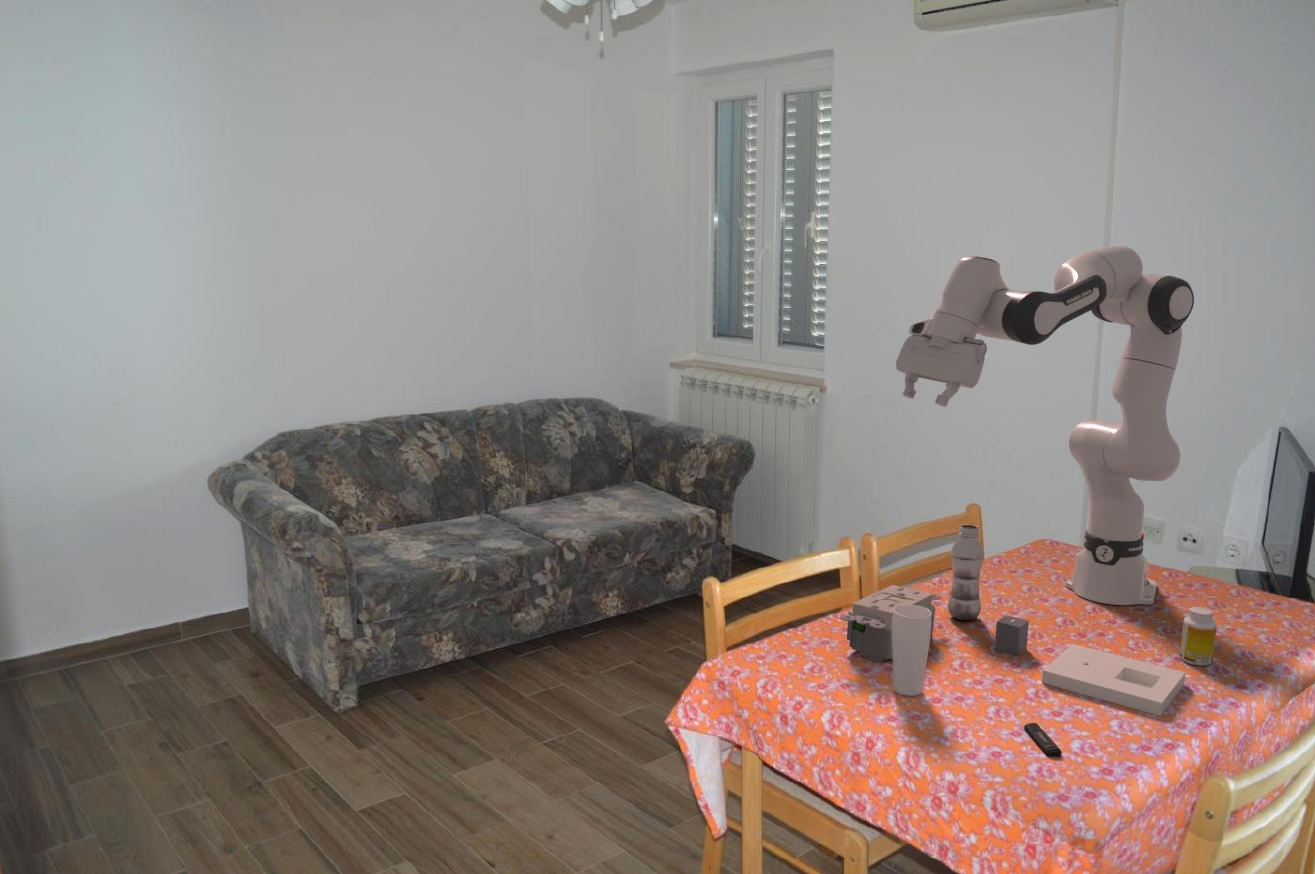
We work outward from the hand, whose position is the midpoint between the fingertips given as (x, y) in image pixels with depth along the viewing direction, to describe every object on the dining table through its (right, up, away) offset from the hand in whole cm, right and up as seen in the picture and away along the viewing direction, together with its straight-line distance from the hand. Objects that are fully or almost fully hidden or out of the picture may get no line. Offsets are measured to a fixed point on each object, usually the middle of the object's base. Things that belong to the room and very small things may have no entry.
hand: (923, 401), depth 197 cm
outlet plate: (+31, -52, -13) cm, 62 cm away
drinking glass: (-7, -52, -16) cm, 55 cm away
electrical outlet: (-5, -48, +4) cm, 49 cm away
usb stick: (+10, -56, -34) cm, 67 cm away
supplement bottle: (+51, -50, -3) cm, 72 cm away
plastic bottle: (+13, -45, +18) cm, 51 cm away
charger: (+18, -49, +2) cm, 52 cm away
